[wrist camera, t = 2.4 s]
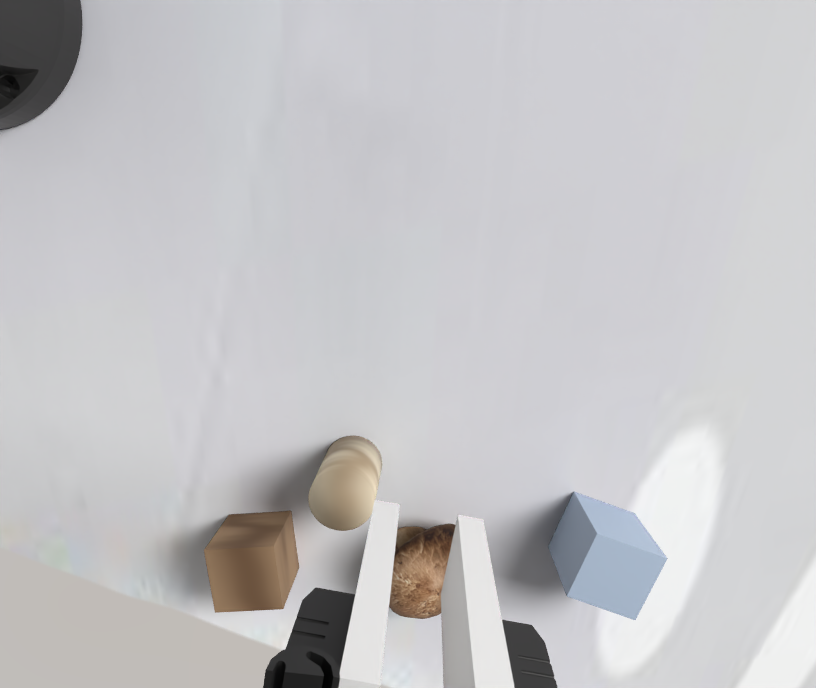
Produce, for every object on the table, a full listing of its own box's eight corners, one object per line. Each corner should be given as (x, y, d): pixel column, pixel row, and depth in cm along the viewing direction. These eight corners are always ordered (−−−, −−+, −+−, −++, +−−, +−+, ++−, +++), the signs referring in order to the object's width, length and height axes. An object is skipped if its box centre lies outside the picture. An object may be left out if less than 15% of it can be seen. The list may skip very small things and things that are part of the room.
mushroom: (347, 531, 40) (386, 604, 35) (439, 475, 42) (487, 536, 37) (373, 584, 45) (410, 652, 40) (454, 531, 47) (498, 591, 42)
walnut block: (238, 570, 44) (215, 612, 40) (229, 514, 43) (203, 550, 39) (299, 566, 44) (283, 609, 39) (291, 510, 43) (273, 546, 38)
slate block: (548, 546, 43) (566, 596, 37) (573, 491, 42) (597, 533, 36) (607, 567, 43) (635, 620, 37) (634, 512, 42) (667, 558, 36)
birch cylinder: (321, 483, 43) (304, 524, 37) (329, 430, 42) (313, 463, 36) (377, 493, 43) (368, 535, 37) (386, 441, 42) (379, 475, 36)
